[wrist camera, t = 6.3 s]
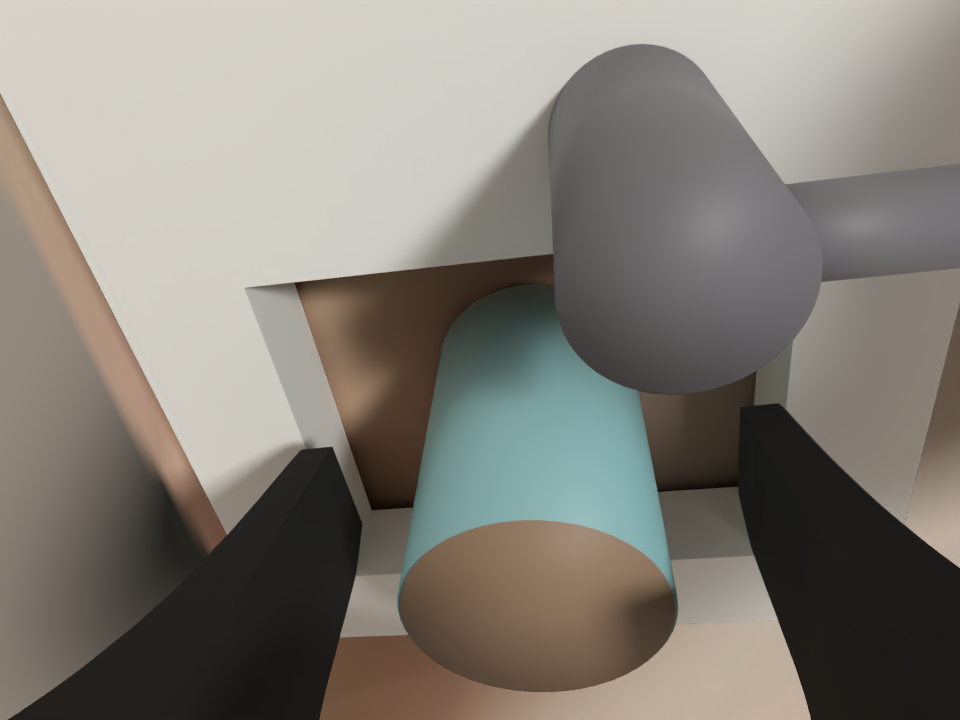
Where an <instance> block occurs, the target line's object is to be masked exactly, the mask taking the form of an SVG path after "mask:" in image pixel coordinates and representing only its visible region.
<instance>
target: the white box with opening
mask: <svg viewBox="0 0 960 720" xmlns="http://www.w3.org/2000/svg"><path fill="white" fill-rule="evenodd" d="M0 93H1V95H2V97H3V99H4V101H5V103H6V105H7V107H8V109H9V111H10V113H11V115H12V117H13V119H14V121H15V123H16V124H17V126H18V128H19V130H20V132H21V134H22V136H23V138H24V140H25V142H26V144H27V146H28V148H29V150H30V152H31V154H32V156H33V158H34V160H35V162H36V163H37V165H38V167H39V169H40V171H41V173H42V175H43V177H44V179H45V181H46V183H47V185H48V187H49V189H50V191H51V193H52V195H53V197H54V199H55V201H56V202H57V204H58V206H59V208H60V210H61V212H62V214H63V216H64V218H65V220H66V222H67V224H68V226H69V228H70V230H71V232H72V234H73V236H74V238H75V239H76V241H77V243H78V245H79V247H80V249H81V251H82V253H83V255H84V257H85V259H86V261H87V263H88V265H89V267H90V269H91V271H92V273H93V275H94V277H95V278H96V280H97V282H98V284H99V286H100V288H101V290H102V292H103V294H104V296H105V298H106V300H107V302H108V304H109V306H110V308H111V310H112V312H113V314H114V316H115V317H116V319H117V321H118V323H119V325H120V327H121V329H122V331H123V333H124V335H125V337H126V339H127V341H128V343H129V345H130V347H131V349H132V351H133V353H134V355H135V356H136V358H137V360H138V362H139V364H140V366H141V368H142V370H143V372H144V374H145V376H146V378H147V380H148V382H149V384H150V386H151V388H152V390H153V392H154V394H155V395H156V397H157V399H158V401H159V403H160V405H161V407H162V409H163V411H164V413H165V415H166V417H167V419H168V421H169V423H170V425H171V427H172V429H173V431H174V432H175V434H176V436H177V438H178V440H179V442H180V444H181V446H182V448H183V450H184V452H185V454H186V456H187V458H188V460H189V462H190V464H191V466H192V468H193V470H194V471H195V473H196V475H197V477H198V479H199V481H200V483H201V485H202V487H203V489H204V491H205V493H206V495H207V497H208V499H209V501H210V503H211V505H212V507H213V509H214V510H215V512H216V514H217V516H218V518H219V520H220V522H221V524H222V526H223V528H224V530H225V532H226V534H227V535H228V534H229V533H230V531H231V530H232V529H233V528H234V527H235V526H236V525H237V523H238V522H239V521H240V520H241V519H242V518H243V517H244V515H245V514H246V513H247V512H248V511H249V510H250V508H251V507H252V506H253V505H254V504H255V503H256V502H257V500H258V499H259V498H260V497H261V496H262V495H263V493H264V492H265V491H266V490H267V489H268V487H269V486H270V485H271V484H272V483H273V481H274V480H275V479H276V478H277V477H278V476H279V474H280V473H281V472H282V471H283V470H284V468H285V467H286V466H287V465H288V464H289V463H290V461H291V460H292V459H293V458H294V457H295V456H296V455H297V454H298V452H299V451H300V450H301V449H312V448H322V447H333V449H334V452H335V454H336V457H337V460H338V462H339V465H340V467H341V470H342V472H343V475H344V477H345V480H346V483H347V485H348V488H349V490H350V493H351V495H352V498H353V500H354V503H355V506H356V508H357V511H358V513H359V516H360V518H361V521H362V523H363V524H362V533H361V541H360V550H359V557H358V564H357V571H356V577H355V581H354V585H353V589H352V593H351V597H350V601H349V604H348V608H347V612H346V616H345V620H344V623H343V627H342V631H341V634H340V638H342V637H367V636H393V635H408V633H407V632H406V631H405V629H404V626H403V624H402V622H401V620H400V616H399V612H398V608H397V595H398V589H399V583H400V578H401V572H402V567H403V561H404V555H405V550H406V544H407V539H408V533H409V528H410V522H411V517H412V511H413V508H400V509H385V510H371V507H370V504H369V501H368V498H367V495H366V492H365V490H364V487H363V484H362V481H361V478H360V475H359V472H358V469H357V466H356V463H355V460H354V457H353V454H352V451H351V448H350V445H349V442H348V440H347V437H346V434H345V431H344V428H343V425H342V422H341V419H340V416H339V413H338V410H337V407H336V404H335V401H334V398H333V395H332V392H331V389H330V387H329V384H328V381H327V378H326V375H325V372H324V369H323V366H322V363H321V360H320V357H319V354H318V351H317V348H316V345H315V342H314V339H313V337H312V334H311V331H310V328H309V325H308V322H307V319H306V316H305V313H304V310H303V307H302V304H301V301H300V298H299V295H298V292H297V289H296V287H295V284H294V282H302V281H311V280H320V279H329V278H338V277H347V276H356V275H365V274H374V273H383V272H392V271H401V270H410V269H419V268H428V267H438V266H447V265H456V264H465V263H474V262H483V261H492V260H501V259H510V258H519V257H528V256H537V255H546V254H553V260H554V284H555V306H556V311H557V316H558V320H559V323H560V326H561V329H562V331H563V334H564V335H565V337H566V339H567V341H568V343H569V345H570V346H571V347H572V349H573V350H574V351H575V353H576V354H577V355H578V356H579V357H580V358H581V359H582V360H583V361H584V362H585V363H586V364H587V365H588V366H589V367H590V368H592V369H593V370H594V371H596V372H597V373H598V374H600V375H602V376H603V377H605V378H607V379H609V380H610V381H612V382H615V383H617V384H619V385H622V386H624V387H627V388H631V389H634V390H638V391H643V392H648V393H654V394H668V395H672V394H689V393H697V392H703V391H707V390H711V389H716V388H719V387H722V386H725V385H728V384H731V383H733V382H735V381H738V380H740V379H742V378H744V377H747V376H748V375H750V374H752V373H754V372H755V371H756V383H755V397H754V405H764V404H775V403H779V404H780V405H782V406H783V407H784V408H785V409H786V410H787V411H788V412H789V413H790V414H791V415H792V417H793V418H794V419H795V420H796V421H797V422H798V423H799V424H800V425H801V427H802V428H803V429H804V430H805V431H806V432H807V433H808V434H809V435H810V436H811V437H812V438H813V439H814V440H815V442H816V443H817V444H818V445H819V446H820V447H821V448H822V449H823V450H824V451H825V452H826V453H827V454H828V455H829V456H830V457H831V458H832V459H833V460H834V461H835V462H836V463H837V464H838V465H839V466H840V467H841V468H842V469H843V470H844V471H845V472H846V473H847V474H848V475H849V476H851V477H852V478H853V479H854V480H855V481H856V482H857V483H858V484H859V485H860V486H861V487H862V488H863V489H864V490H865V491H866V492H867V493H868V494H870V495H871V496H872V497H873V498H874V499H875V500H876V501H877V502H878V503H880V504H881V505H882V506H883V507H884V508H885V509H886V510H887V511H889V512H890V513H891V514H892V515H893V516H894V517H896V518H897V519H898V520H899V521H900V522H902V523H903V524H905V520H906V516H907V512H908V508H909V504H910V500H911V496H912V492H913V488H914V484H915V480H916V476H917V472H918V468H919V464H920V460H921V456H922V452H923V448H924V444H925V440H926V436H927V432H928V428H929V424H930V420H931V416H932V412H933V408H934V404H935V400H936V396H937V392H938V388H939V384H940V380H941V376H942V372H943V368H944V364H945V360H946V356H947V352H948V348H949V344H950V340H951V336H952V332H953V328H954V324H955V320H956V316H957V312H958V308H959V304H960V0H0ZM658 497H659V502H660V507H661V513H662V518H663V523H664V529H665V534H666V539H667V545H668V550H669V555H670V561H671V566H672V571H673V577H674V582H675V587H676V593H677V600H678V615H677V621H676V624H699V623H724V622H750V621H775V620H778V619H777V616H776V614H775V611H774V608H773V606H772V603H771V600H770V598H769V595H768V592H767V590H766V587H765V584H764V581H763V579H762V576H761V573H760V571H759V568H758V565H757V562H756V560H755V557H754V554H753V551H752V549H751V545H750V541H749V537H748V533H747V529H746V525H745V521H744V516H743V512H742V508H741V503H740V499H739V495H738V487H729V488H713V489H697V490H682V491H666V492H658Z"/></svg>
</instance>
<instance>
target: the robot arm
mask: <svg viewBox="0 0 960 720" xmlns="http://www.w3.org/2000/svg"><path fill="white" fill-rule="evenodd" d="M738 495H739V499H740V503H741V508H742V512H743V516H744V521H745V525H746V529H747V533H748V537H749V541H750V545H751V549H752V551H753V554H754V557H755V560H756V562H757V565H758V568H759V571H760V573H761V576H762V579H763V581H764V584H765V587H766V590H767V592H768V595H769V598H770V600H771V603H772V606H773V608H774V611H775V614H776V616H777V619H778V622H779V624H780V627H781V630H782V632H783V635H784V638H785V640H786V643H787V646H788V648H789V651H790V654H791V656H792V659H793V662H794V664H795V667H796V670H797V673H798V676H799V679H800V682H801V685H802V688H803V691H804V694H805V698H806V701H807V705H808V709H809V713H810V716H811V720H960V568H959V567H958V566H956V565H955V564H953V563H952V562H951V561H949V560H948V559H947V558H945V557H944V556H943V555H941V554H940V553H939V552H937V551H936V550H935V549H934V548H932V547H931V546H930V545H928V544H927V543H926V542H925V541H923V540H922V539H921V538H920V537H918V536H917V535H916V534H915V533H913V532H912V531H911V530H910V529H909V528H907V527H906V526H905V525H904V524H903V523H902V522H900V521H899V520H898V519H897V518H896V517H894V516H893V515H892V514H891V513H890V512H889V511H887V510H886V509H885V508H884V507H883V506H882V505H881V504H880V503H878V502H877V501H876V500H875V499H874V498H873V497H872V496H871V495H870V494H868V493H867V492H866V491H865V490H864V489H863V488H862V487H861V486H860V485H859V484H858V483H857V482H856V481H855V480H854V479H853V478H852V477H851V476H849V475H848V474H847V473H846V472H845V471H844V470H843V469H842V468H841V467H840V466H839V465H838V464H837V463H836V462H835V461H834V460H833V459H832V458H831V457H830V456H829V455H828V454H827V453H826V452H825V451H824V450H823V449H822V448H821V447H820V446H819V445H818V444H817V443H816V442H815V440H814V439H813V438H812V437H811V436H810V435H809V434H808V433H807V432H806V431H805V430H804V429H803V428H802V427H801V425H800V424H799V423H798V422H797V421H796V420H795V419H794V418H793V417H792V415H791V414H790V413H789V412H788V411H787V410H786V409H785V408H784V407H783V406H782V405H780V404H779V403H775V404H764V405H754V406H744V407H740V445H739V483H738ZM362 524H363V523H362V521H361V518H360V516H359V513H358V511H357V508H356V506H355V503H354V500H353V498H352V495H351V493H350V490H349V488H348V485H347V483H346V480H345V477H344V475H343V472H342V470H341V467H340V465H339V462H338V460H337V457H336V454H335V452H334V449H333V447H322V448H312V449H301V450H300V451H299V452H298V454H297V455H296V456H295V457H294V458H293V459H292V460H291V461H290V463H289V464H288V465H287V466H286V467H285V468H284V470H283V471H282V472H281V473H280V474H279V476H278V477H277V478H276V479H275V480H274V481H273V483H272V484H271V485H270V486H269V487H268V489H267V490H266V491H265V492H264V493H263V495H262V496H261V497H260V498H259V499H258V500H257V502H256V503H255V504H254V505H253V506H252V507H251V508H250V510H249V511H248V512H247V513H246V514H245V515H244V517H243V518H242V519H241V520H240V521H239V522H238V523H237V525H236V526H235V527H234V528H233V529H232V530H231V531H230V533H229V534H228V535H227V536H226V537H225V538H224V539H223V540H222V541H221V542H220V543H219V544H218V545H217V546H216V547H215V549H214V550H213V551H212V552H211V553H210V554H209V555H208V556H207V557H206V558H205V559H204V560H203V561H202V562H201V563H200V564H199V565H198V566H197V568H196V569H195V570H194V571H193V572H192V573H191V574H190V575H189V576H188V577H187V578H186V579H185V580H184V581H183V582H182V583H181V584H180V585H179V586H178V587H177V588H176V589H175V590H174V591H172V592H171V593H170V594H169V595H168V596H167V597H166V598H165V599H164V600H163V601H162V602H161V603H160V604H159V605H157V606H156V607H155V608H154V609H153V610H152V611H151V612H150V613H148V614H147V615H146V616H145V617H144V618H143V619H142V620H141V621H140V622H138V623H137V624H136V625H135V626H134V627H133V628H131V629H130V630H129V631H128V632H127V633H125V634H124V635H123V636H121V637H120V638H119V639H118V640H116V641H115V642H114V643H113V644H111V645H110V646H109V647H108V648H106V649H105V650H104V651H103V652H101V653H100V654H99V655H98V656H96V657H95V658H94V659H93V660H91V661H90V662H89V663H88V664H86V665H85V666H84V667H83V668H81V669H80V670H79V671H77V672H76V673H75V674H73V675H72V676H70V677H69V678H68V679H66V680H65V681H64V682H62V683H61V684H59V685H58V686H57V687H55V688H54V689H53V690H51V691H50V692H48V693H47V694H45V695H44V696H42V697H41V698H40V699H38V700H37V701H35V702H34V703H32V704H31V705H29V706H28V707H26V708H25V709H24V710H22V711H21V712H19V713H18V714H16V715H14V716H13V717H11V718H10V719H8V720H319V718H320V713H321V708H322V704H323V699H324V695H325V691H326V687H327V683H328V679H329V675H330V672H331V668H332V664H333V660H334V657H335V653H336V649H337V646H338V642H339V638H340V634H341V631H342V627H343V623H344V620H345V616H346V612H347V608H348V604H349V601H350V597H351V593H352V589H353V585H354V581H355V577H356V571H357V564H358V557H359V550H360V541H361V533H362Z"/></svg>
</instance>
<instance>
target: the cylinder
mask: <svg viewBox="0 0 960 720" xmlns="http://www.w3.org/2000/svg"><path fill="white" fill-rule="evenodd" d="M397 608H398V612H399V616H400V620H401V622H402V624H403V626H404V629H405V631H406V632H407V633H408V635H409V636H410V638H411V639H412V641H413V642H414V643H415V644H416V645H417V646H418V647H419V648H420V649H421V650H422V651H423V652H424V653H425V654H427V655H428V656H429V657H430V658H431V659H433V660H434V661H435V662H437V663H438V664H440V665H442V666H443V667H445V668H446V669H448V670H450V671H452V672H454V673H456V674H458V675H461V676H463V677H465V678H468V679H470V680H473V681H476V682H480V683H483V684H486V685H490V686H494V687H499V688H504V689H511V690H517V691H529V692H556V691H568V690H575V689H582V688H586V687H591V686H595V685H599V684H602V683H605V682H609V681H612V680H614V679H616V678H619V677H621V676H624V675H626V674H627V673H629V672H631V671H633V670H635V669H637V668H638V667H640V666H641V665H642V664H644V663H645V662H647V661H648V660H649V659H650V658H652V657H653V656H654V655H655V654H656V653H657V652H658V651H659V650H660V649H661V648H662V647H663V645H664V644H665V643H666V642H667V640H668V639H669V637H670V635H671V633H672V632H673V630H674V627H675V624H676V621H677V615H678V600H677V593H676V587H675V582H674V577H673V571H672V566H671V561H670V555H669V550H668V545H667V539H666V534H665V529H664V523H663V518H662V513H661V507H660V502H659V497H658V491H657V486H656V481H655V475H654V470H653V465H652V459H651V454H650V449H649V444H648V438H647V433H646V428H645V422H644V417H643V412H642V406H641V401H640V396H639V391H638V390H634V389H631V388H627V387H624V386H622V385H619V384H617V383H615V382H612V381H610V380H609V379H607V378H605V377H603V376H602V375H600V374H598V373H597V372H596V371H594V370H593V369H592V368H590V367H589V366H588V365H587V364H586V363H585V362H584V361H583V360H582V359H581V358H580V357H579V356H578V355H577V354H576V353H575V351H574V350H573V349H572V347H571V346H570V345H569V343H568V341H567V339H566V337H565V335H564V334H563V331H562V329H561V326H560V323H559V320H558V316H557V311H556V306H555V286H554V285H544V284H527V285H519V286H513V287H508V288H505V289H501V290H498V291H495V292H493V293H491V294H488V295H486V296H484V297H483V298H481V299H479V300H477V301H476V302H474V303H473V304H472V305H470V306H469V307H468V308H466V309H465V310H464V311H463V312H462V313H461V314H460V315H459V316H458V317H457V319H456V320H455V321H454V323H453V324H452V325H451V327H450V329H449V331H448V333H447V334H446V337H445V340H444V342H443V345H442V351H441V356H440V362H439V367H438V373H437V378H436V384H435V389H434V395H433V400H432V406H431V411H430V417H429V423H428V428H427V434H426V439H425V445H424V450H423V456H422V461H421V467H420V472H419V478H418V483H417V489H416V495H415V500H414V506H413V511H412V517H411V522H410V528H409V533H408V539H407V544H406V550H405V555H404V561H403V567H402V572H401V578H400V583H399V589H398V595H397Z"/></svg>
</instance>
